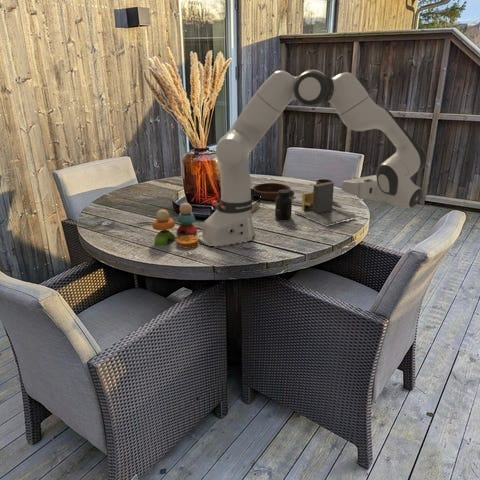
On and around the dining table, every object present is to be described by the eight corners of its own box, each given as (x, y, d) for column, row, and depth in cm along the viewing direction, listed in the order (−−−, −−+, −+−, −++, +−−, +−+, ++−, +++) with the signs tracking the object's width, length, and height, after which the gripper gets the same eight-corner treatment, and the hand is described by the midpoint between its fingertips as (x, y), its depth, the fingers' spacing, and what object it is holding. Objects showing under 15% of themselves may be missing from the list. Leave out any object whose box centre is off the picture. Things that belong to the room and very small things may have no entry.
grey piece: (327, 226, 176) (328, 206, 173) (294, 213, 192) (295, 194, 188) (355, 219, 184) (357, 199, 181) (322, 206, 200) (323, 188, 196)
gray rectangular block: (316, 214, 185) (317, 186, 180) (306, 210, 190) (307, 182, 186) (331, 210, 190) (333, 183, 185) (321, 206, 195) (323, 179, 190)
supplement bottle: (272, 219, 185) (272, 192, 180) (278, 214, 190) (279, 187, 186) (287, 222, 182) (288, 194, 177) (293, 217, 187) (294, 189, 183)
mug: (335, 205, 201) (336, 185, 197) (318, 206, 201) (320, 186, 197) (329, 198, 212) (330, 178, 209) (313, 198, 212) (314, 179, 208)
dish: (247, 192, 223) (247, 183, 221) (290, 191, 224) (291, 182, 222) (250, 203, 207) (250, 193, 205) (297, 201, 208) (297, 191, 206)
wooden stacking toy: (188, 251, 155) (186, 218, 150) (149, 243, 163) (146, 211, 158) (214, 234, 170) (213, 203, 165) (177, 227, 177) (175, 198, 173)
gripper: (399, 175, 164) (370, 167, 174) (361, 182, 153) (332, 174, 164) (396, 191, 166) (368, 183, 177) (359, 200, 156) (331, 190, 166)
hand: (350, 179), depth 170 cm, fingers closed
